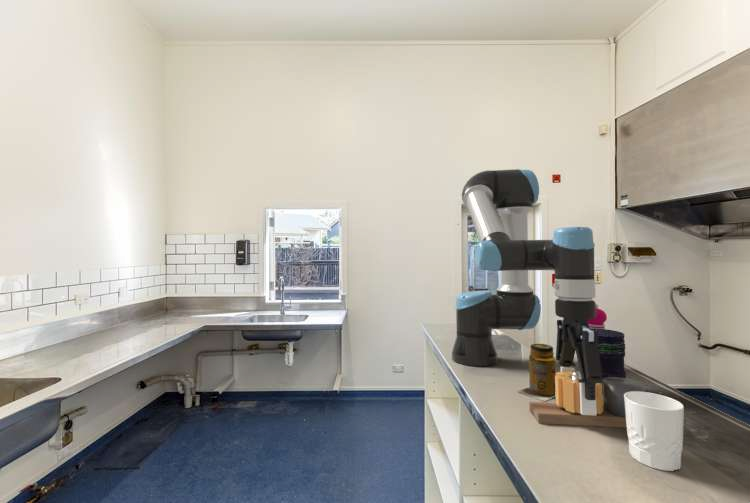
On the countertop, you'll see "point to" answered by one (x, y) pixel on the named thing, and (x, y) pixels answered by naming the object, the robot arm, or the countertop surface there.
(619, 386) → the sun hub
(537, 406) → the carrier bar
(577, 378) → the steel pin
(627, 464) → the countertop surface
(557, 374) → the planet gear
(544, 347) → the condiment
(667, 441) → the white cup
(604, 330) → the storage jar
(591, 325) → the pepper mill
